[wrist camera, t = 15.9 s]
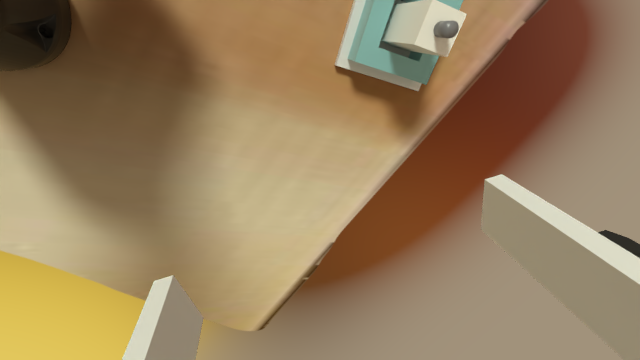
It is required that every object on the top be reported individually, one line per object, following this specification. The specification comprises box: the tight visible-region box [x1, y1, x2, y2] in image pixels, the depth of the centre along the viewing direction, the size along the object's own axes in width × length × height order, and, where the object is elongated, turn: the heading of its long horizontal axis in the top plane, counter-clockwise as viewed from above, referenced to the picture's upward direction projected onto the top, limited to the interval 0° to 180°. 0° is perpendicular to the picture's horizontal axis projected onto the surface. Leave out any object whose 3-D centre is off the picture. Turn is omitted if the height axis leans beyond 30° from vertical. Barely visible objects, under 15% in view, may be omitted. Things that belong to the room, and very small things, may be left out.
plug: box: [381, 0, 467, 57], centre depth 34 cm, size 4×4×13 cm
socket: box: [335, 0, 463, 91], centre depth 39 cm, size 14×14×4 cm
